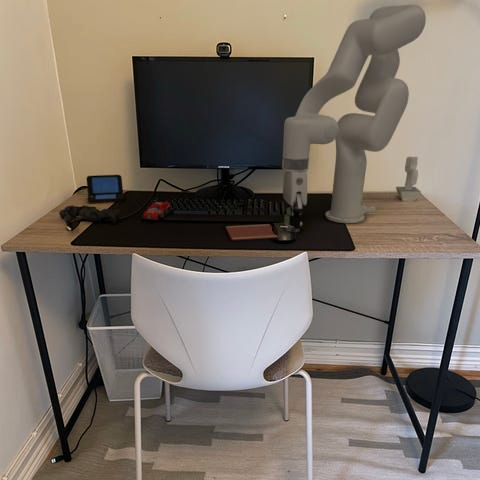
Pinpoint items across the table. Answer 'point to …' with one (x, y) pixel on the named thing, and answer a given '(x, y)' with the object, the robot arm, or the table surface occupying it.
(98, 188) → the handheld game console
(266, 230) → the reddish brown flat tray
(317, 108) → the robot arm
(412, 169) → the figurine
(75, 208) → the robot figurine
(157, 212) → the race car
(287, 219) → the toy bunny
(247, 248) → the table surface
